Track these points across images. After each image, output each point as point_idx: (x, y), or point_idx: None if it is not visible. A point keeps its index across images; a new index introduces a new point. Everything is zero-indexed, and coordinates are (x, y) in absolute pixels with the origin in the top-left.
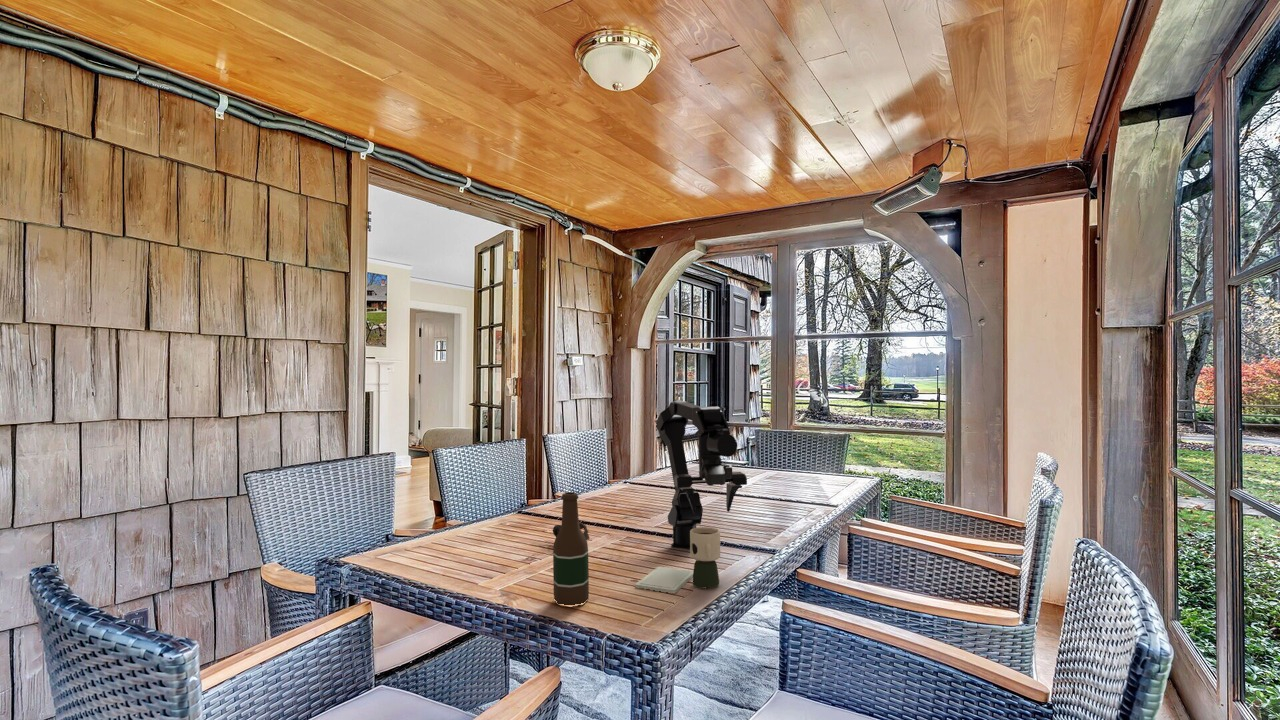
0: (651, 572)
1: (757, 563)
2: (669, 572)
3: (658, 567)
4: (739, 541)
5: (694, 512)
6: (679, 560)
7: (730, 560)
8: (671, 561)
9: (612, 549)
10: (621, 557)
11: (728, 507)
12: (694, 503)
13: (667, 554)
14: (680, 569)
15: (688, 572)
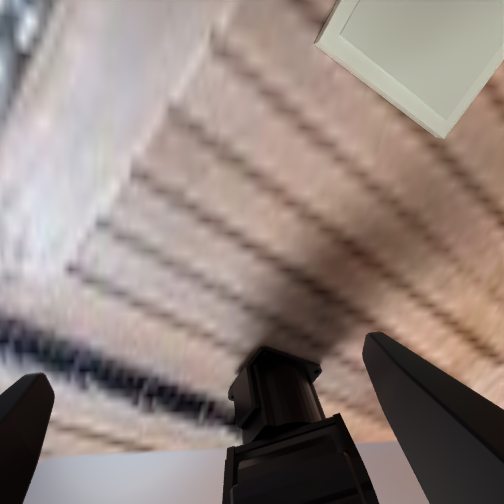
0: (501, 58)
1: (7, 173)
2: (437, 34)
3: (449, 125)
4: (86, 410)
5: (380, 334)
6: (329, 238)
7: (132, 223)
8: (359, 229)
9: (487, 345)
10: (495, 279)
11: (10, 405)
12: (443, 401)
13: (351, 299)
14: (374, 84)
15: (356, 18)
